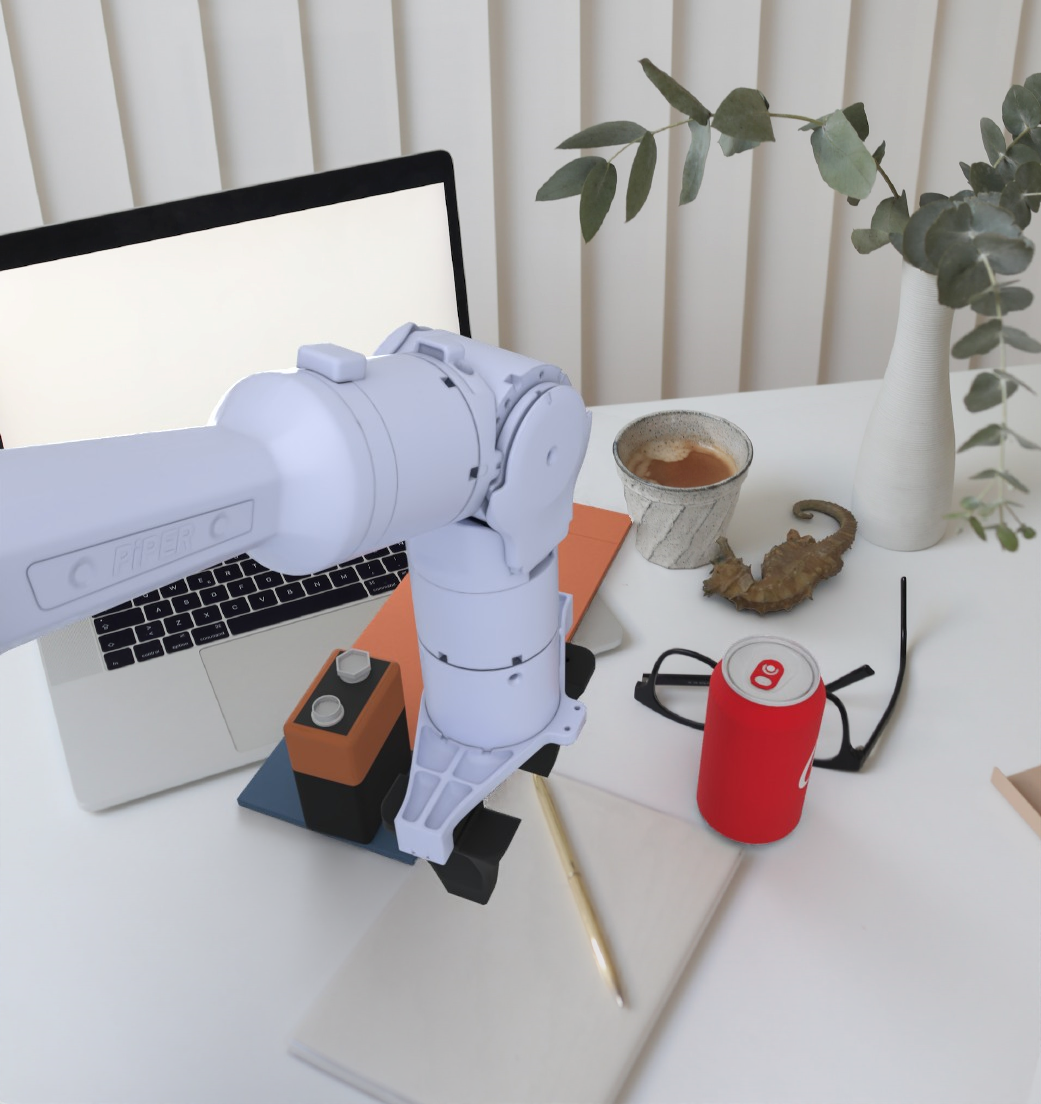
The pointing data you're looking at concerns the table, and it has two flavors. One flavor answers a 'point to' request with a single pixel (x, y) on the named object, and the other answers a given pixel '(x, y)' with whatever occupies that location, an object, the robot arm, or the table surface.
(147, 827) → the table surface
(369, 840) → the battery
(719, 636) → the table surface
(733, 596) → the seahorse
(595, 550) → the sorting mat
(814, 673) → the beverage can
